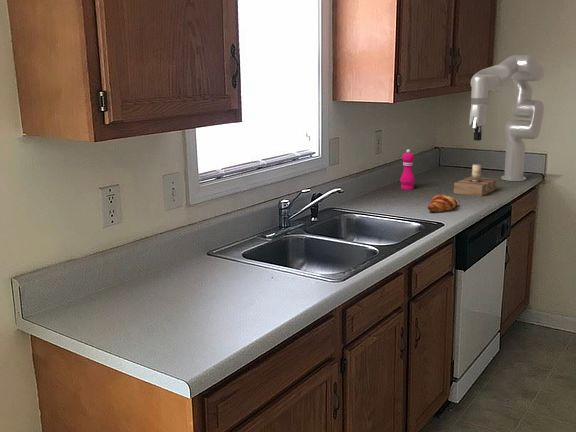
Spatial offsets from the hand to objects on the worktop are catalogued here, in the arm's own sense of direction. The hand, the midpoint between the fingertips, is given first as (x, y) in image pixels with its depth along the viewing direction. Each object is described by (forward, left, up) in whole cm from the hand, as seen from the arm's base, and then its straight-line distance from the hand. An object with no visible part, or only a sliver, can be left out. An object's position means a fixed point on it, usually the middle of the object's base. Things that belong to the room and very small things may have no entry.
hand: (477, 140), depth 314 cm
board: (+1, 0, -25) cm, 25 cm away
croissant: (+45, +4, -26) cm, 52 cm away
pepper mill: (+13, -31, -25) cm, 42 cm away
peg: (+1, 0, -24) cm, 24 cm away
